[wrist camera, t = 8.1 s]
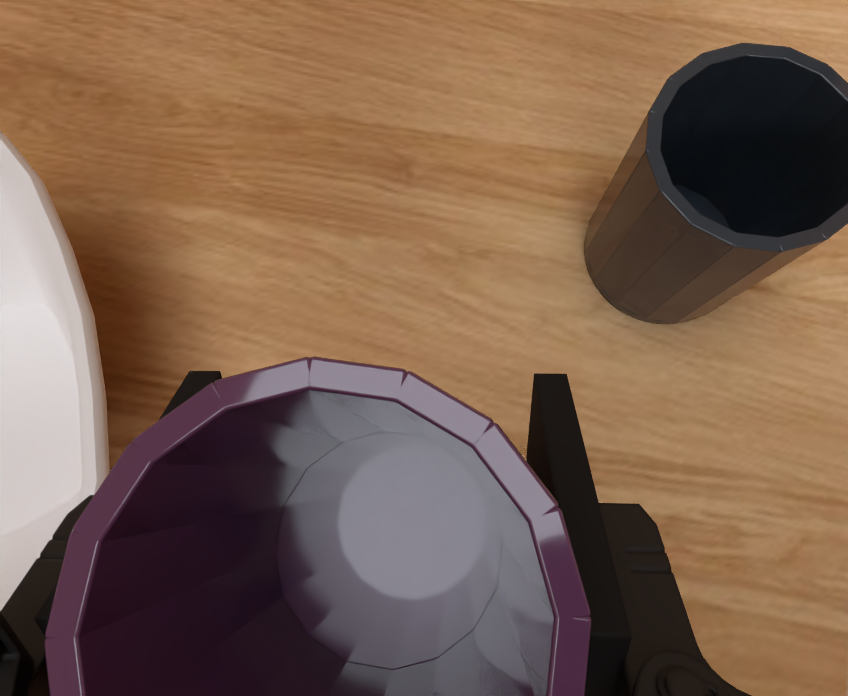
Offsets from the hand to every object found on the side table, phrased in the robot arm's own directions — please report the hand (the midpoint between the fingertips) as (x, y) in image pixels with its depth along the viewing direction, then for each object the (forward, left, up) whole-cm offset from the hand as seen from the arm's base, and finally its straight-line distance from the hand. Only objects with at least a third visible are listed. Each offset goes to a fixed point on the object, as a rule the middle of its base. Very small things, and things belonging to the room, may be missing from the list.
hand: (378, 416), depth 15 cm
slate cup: (-6, -14, -14) cm, 20 cm away
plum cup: (-2, +3, -4) cm, 5 cm away
